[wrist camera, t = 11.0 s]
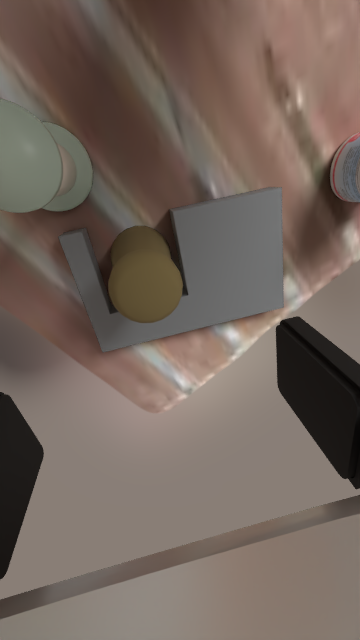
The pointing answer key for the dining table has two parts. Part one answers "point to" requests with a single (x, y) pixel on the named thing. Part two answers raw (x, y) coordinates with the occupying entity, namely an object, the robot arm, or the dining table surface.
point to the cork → (143, 276)
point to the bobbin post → (40, 164)
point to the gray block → (197, 268)
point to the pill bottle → (347, 170)
